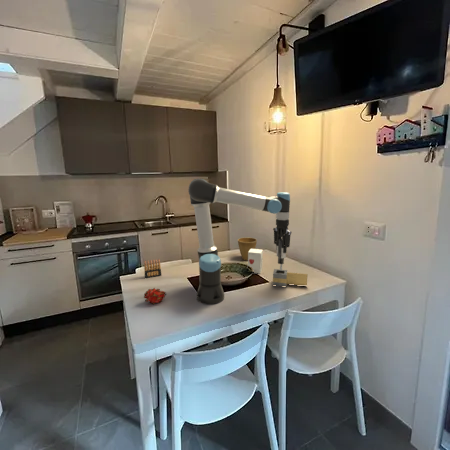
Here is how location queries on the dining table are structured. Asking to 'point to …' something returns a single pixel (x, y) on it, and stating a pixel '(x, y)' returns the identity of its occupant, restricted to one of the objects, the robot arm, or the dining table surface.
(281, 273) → the hinge
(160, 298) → the dragon fruit
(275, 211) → the robot arm
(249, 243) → the plant pot
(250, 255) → the supplement box
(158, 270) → the ammunition clip
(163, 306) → the dining table surface
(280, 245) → the hinge pin
